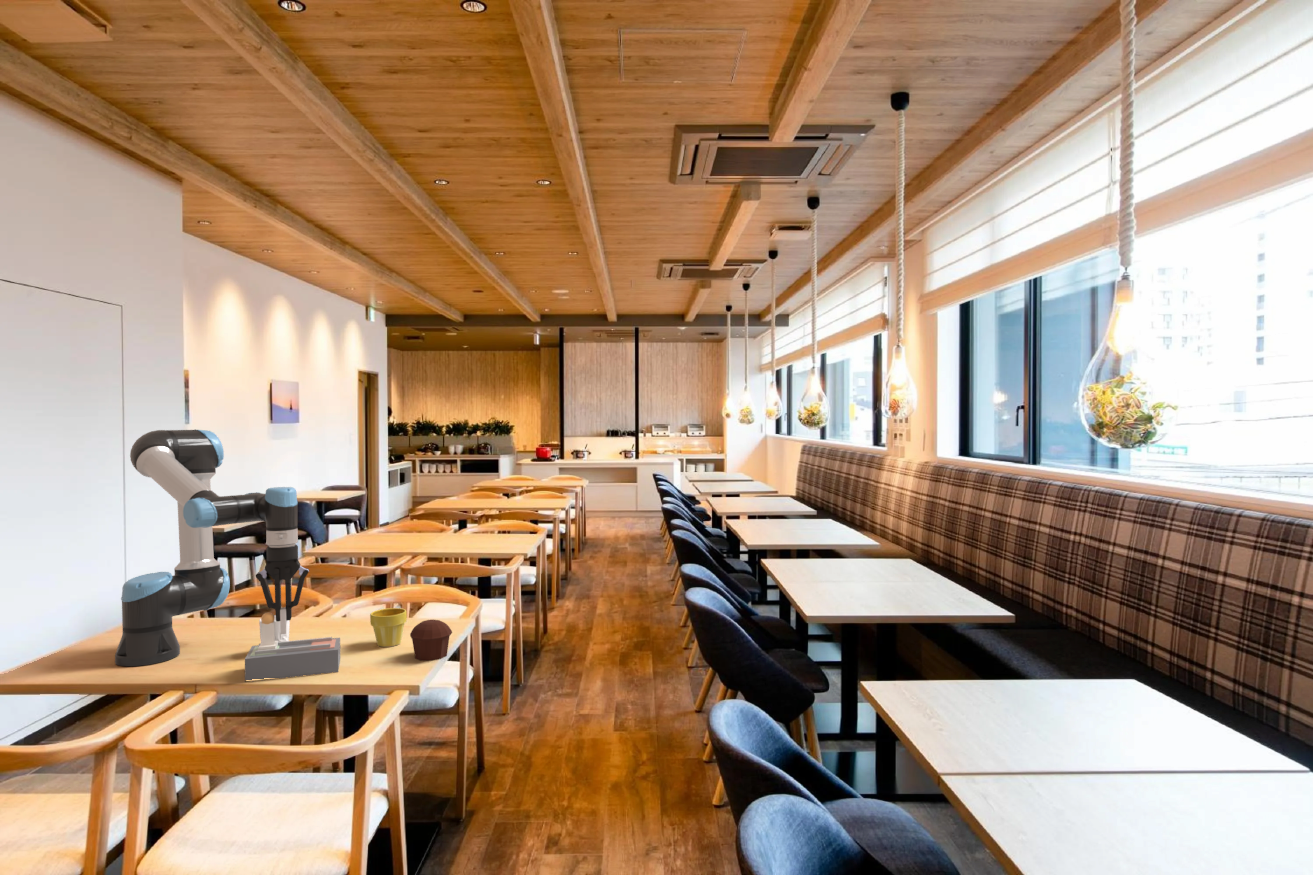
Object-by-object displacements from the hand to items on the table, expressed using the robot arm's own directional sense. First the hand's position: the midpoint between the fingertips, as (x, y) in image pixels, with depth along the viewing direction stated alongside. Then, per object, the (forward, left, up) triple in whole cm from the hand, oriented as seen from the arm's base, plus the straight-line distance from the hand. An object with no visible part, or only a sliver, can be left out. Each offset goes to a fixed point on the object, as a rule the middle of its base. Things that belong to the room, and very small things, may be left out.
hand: (283, 632), depth 197 cm
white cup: (-19, -4, -11) cm, 22 cm away
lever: (0, -4, -4) cm, 6 cm away
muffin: (+1, +38, -11) cm, 39 cm away
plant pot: (-16, +27, -11) cm, 33 cm away
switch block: (0, +3, -10) cm, 11 cm away
